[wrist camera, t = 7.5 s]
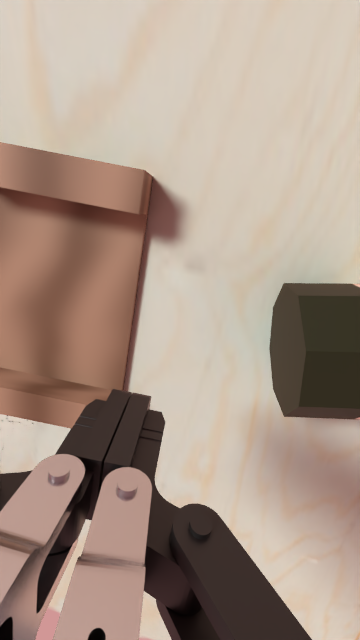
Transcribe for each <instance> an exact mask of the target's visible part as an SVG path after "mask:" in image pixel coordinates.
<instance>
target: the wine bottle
mask: <svg viewBox="0 0 360 640" xmlns="http://www.w3.org/2000/svg"><path fill="white" fill-rule="evenodd" d="M270 358H271V369H272V380H273V390H274V392H275V395H276V397H277V400H278V402H279V405H280V407H281V410H282V412H283V415H284V417H310V418H336V419H360V284H305V283H284V284H283V286H282V289H281V291H280V293H279V295H278V298H277V300H276V302H275V305H274V307H273V316H272V327H271V338H270Z"/></svg>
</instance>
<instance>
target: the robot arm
mask: <svg viewBox="0 0 360 640" xmlns="http://www.w3.org/2000/svg"><path fill="white" fill-rule="evenodd" d="M150 401H151V396H147V395H142V394H137V393H132V392H127V391H122V390H117V389H112V391H111V393H110V395H109V397H108V398H107V400H106V401H104V400H99V399H95V400H94V401H92V402H91V403H89V404H88V405H86V406H85V408H84V409H83V411H82V413H81V414H80V417H78V419H77V421H76V422H75V425H73V427H72V429H71V430H70V432H69V433H68V435H67V436H66V438H65V440H64V441H63V443H62V444H61V446H60V448H59V449H58V451H57V452H56V454H55V455H53V456H50V457H48V458H46V459H44V460H42V461H41V462H40V463H39V464H38V465H37V466H36V467H35V468H34V469H33V470H32V471H27V472H20V473H6V474H0V640H35V639H36V635H37V631H38V629H39V626H40V623H41V620H42V619H43V616H44V614H45V612H46V610H47V608H48V606H49V604H50V601H51V599H52V597H53V595H54V593H55V591H56V589H57V586H58V584H59V582H60V580H61V578H62V576H63V574H64V572H65V569H66V567H67V565H68V563H69V561H70V559H71V557H72V554H73V552H74V550H75V548H76V546H77V542H78V536H79V534H80V532H81V530H82V527H83V524H84V522H85V519H89V520H92V521H91V525H90V528H89V531H88V535H87V538H86V542H85V545H84V549H83V552H82V555H81V557H80V556H79V558H78V560H77V562H76V565H75V568H74V571H73V574H72V577H71V581H70V584H69V587H68V591H67V594H66V597H65V601H64V604H63V607H62V611H61V614H60V617H59V621H58V624H57V627H56V631H55V634H54V637H53V640H139V632H140V622H141V612H142V602H143V592H144V591H145V592H147V593H148V594H150V595H151V596H152V597H154V598H155V599H156V603H157V607H158V610H159V612H160V615H161V617H162V619H163V621H164V623H165V626H166V628H167V630H168V632H169V634H170V637H171V639H172V640H312V639H311V638H310V637H309V635H308V634H307V633H306V631H305V630H304V629H303V627H302V626H301V625H300V623H299V622H298V620H297V619H296V618H295V616H294V615H293V614H292V612H291V611H290V610H289V608H288V607H287V606H286V604H285V603H284V602H283V600H282V599H281V598H280V596H279V595H278V594H277V592H276V591H275V590H274V588H273V587H272V586H271V584H270V583H269V582H268V580H267V579H266V578H265V576H264V575H263V574H262V572H261V571H260V570H259V568H258V567H257V566H256V564H255V563H254V562H253V560H252V559H251V558H250V556H249V555H248V554H247V552H246V551H245V550H244V548H243V547H242V546H241V544H240V543H239V542H238V540H237V539H236V538H235V536H234V535H233V534H232V532H231V531H230V530H229V528H228V527H227V526H226V524H225V523H224V522H223V520H222V519H221V518H220V516H219V515H218V514H217V513H216V512H215V511H214V510H212V509H211V508H209V507H207V506H205V505H201V504H188V505H185V506H184V507H182V508H181V509H180V508H178V507H176V506H174V505H173V504H171V503H169V502H168V501H166V500H165V499H164V498H163V497H162V496H161V495H160V494H159V492H158V490H157V488H156V486H155V480H154V479H155V472H156V467H157V461H158V456H159V451H160V446H161V441H162V436H163V431H164V425H165V420H164V418H163V415H162V412H158V411H153V410H149V407H150Z"/></svg>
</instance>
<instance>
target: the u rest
mask: <svg viewBox="0 0 360 640" xmlns="http://www.w3.org/2000/svg"><path fill="white" fill-rule="evenodd" d="M152 181H153V176H152V175H150V174H149V173H148V172H146V171H145V170H141V169H136V168H131V167H125V166H120V165H115V164H110V163H105V162H100V161H94V160H89V159H84V158H79V157H74V156H69V155H63V154H58V153H53V152H48V151H43V150H37V149H32V148H27V147H22V146H17V145H12V144H6V143H1V142H0V414H4V415H9V416H14V417H19V418H23V419H28V420H33V421H38V422H43V423H48V424H53V425H57V426H62V427H67V428H72V427H73V425H75V422H76V421H77V419H78V417H80V414H81V413H82V411H83V409H84V408H85V406H86V405H88V404H89V403H91V402H92V401H94V400H95V399H99V400H104V401H106V400H107V398H108V397H109V395H110V393H111V391H112V389H117V390H122V391H123V387H124V380H125V373H126V366H127V359H128V352H129V345H130V337H131V330H132V323H133V316H134V309H135V302H136V295H137V288H138V280H139V273H140V266H141V259H142V252H143V245H144V238H145V231H146V223H147V216H148V209H149V202H150V195H151V188H152Z"/></svg>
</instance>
